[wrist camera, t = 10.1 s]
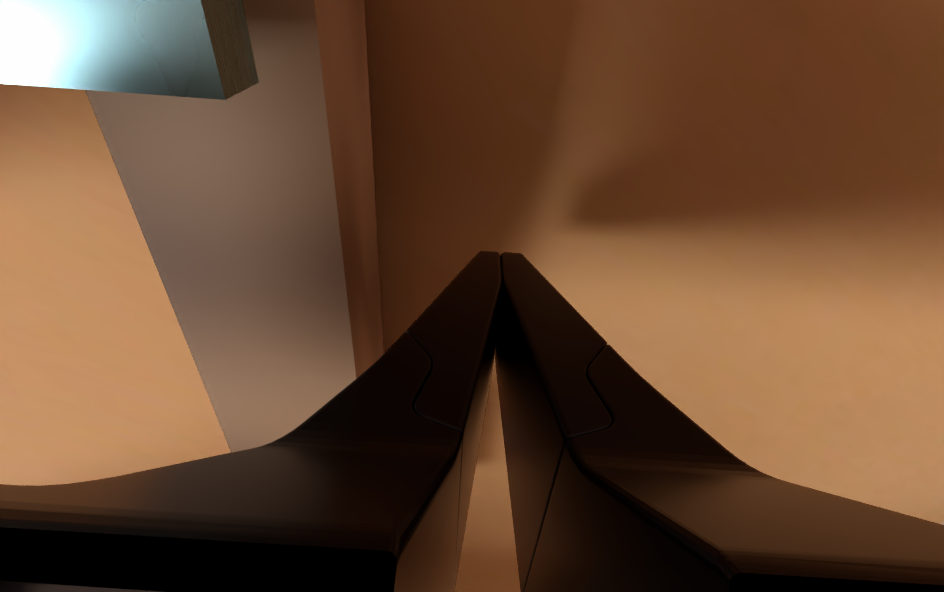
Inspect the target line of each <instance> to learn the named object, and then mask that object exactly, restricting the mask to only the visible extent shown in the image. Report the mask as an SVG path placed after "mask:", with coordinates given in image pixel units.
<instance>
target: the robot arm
mask: <svg viewBox="0 0 944 592" xmlns="http://www.w3.org/2000/svg"><path fill="white" fill-rule="evenodd" d="M494 354H495V363H496V373H497V382H498V391H499V400H500V409H501V418H502V427H503V436H504V445H505V454H506V463H507V472H508V481H509V490H510V499H511V508H512V517H513V526H514V535H515V544H516V553H517V562H518V571H519V580H520V589H521V592H944V525H941V524H938V523H934V522H930V521H927V520H923V519H919V518H916V517H912V516H909V515H905V514H901V513H898V512H894V511H891V510H887V509H883V508H880V507H876V506H873V505H869V504H865V503H862V502H858V501H854V500H851V499H847V498H844V497H840V496H836V495H833V494H829V493H826V492H822V491H818V490H815V489H811V488H808V487H804V486H800V485H797V484H793V483H789V482H786V481H783V480H780V479H776V478H774V477H772V476H769V475H767V474H764V473H762V472H760V471H758V470H756V469H755V468H753V467H751V466H749V465H748V464H746V463H744V462H743V461H741V460H740V459H738V458H737V457H736V456H734V455H733V454H732V453H731V452H729V451H728V450H727V449H725V448H724V447H723V446H722V445H721V444H720V443H718V442H717V441H716V440H715V439H714V438H712V437H711V436H710V435H709V434H708V433H707V432H705V431H704V430H703V429H702V428H701V427H699V426H698V425H697V424H696V423H695V422H694V421H692V420H691V419H690V418H689V417H688V416H686V415H685V414H684V413H683V412H682V411H680V410H679V409H678V408H677V407H676V406H675V405H673V404H672V403H671V402H670V401H669V400H667V399H666V398H665V397H664V396H663V395H662V394H661V393H659V392H658V391H657V390H656V389H655V388H654V387H653V386H651V385H650V384H649V383H648V382H647V381H646V380H645V379H644V378H642V377H641V376H640V375H639V374H638V373H637V372H636V371H635V370H634V369H633V368H632V367H631V366H630V365H629V364H628V363H627V362H626V361H625V360H624V359H623V358H622V357H621V356H620V355H619V354H618V353H617V352H616V351H615V350H614V349H613V348H612V347H611V346H610V345H607V342H606V341H605V340H604V339H603V338H602V337H601V336H600V335H599V334H598V332H597V331H596V330H595V329H594V328H593V327H592V326H591V325H590V324H589V323H588V322H587V321H586V320H585V319H584V318H583V317H582V316H581V315H580V314H579V313H578V312H577V311H576V310H575V309H574V308H573V307H572V305H571V304H570V303H569V302H568V301H567V300H566V299H565V298H564V297H563V296H562V295H561V294H560V293H559V292H558V291H557V290H556V289H555V288H554V287H553V286H552V285H551V284H550V283H549V282H548V281H547V280H546V278H545V277H544V276H543V275H542V274H541V273H540V272H539V271H538V270H537V269H536V268H535V267H534V266H533V265H532V264H531V263H530V262H529V261H528V260H527V259H526V258H525V257H524V256H523V255H522V254H520V253H509V252H504V253H502V254H501V256H500V253H499V252H492V251H480V252H479V253H478V254H477V255H476V256H475V257H474V258H473V259H472V260H471V261H470V262H469V263H468V264H467V266H466V267H465V268H464V269H463V270H462V271H461V272H460V273H459V274H458V275H457V276H456V277H455V279H454V280H453V281H452V282H451V283H450V284H449V285H448V286H447V287H446V288H445V289H444V290H443V292H442V293H441V294H440V295H439V296H438V297H437V298H436V299H435V300H434V301H433V302H432V303H431V305H430V306H429V307H428V308H427V309H426V310H425V311H424V312H423V313H422V314H421V315H420V316H419V317H418V319H417V320H416V321H415V322H414V323H413V324H412V325H411V326H410V327H409V328H408V329H407V331H406V332H405V333H403V334H402V336H401V337H400V338H399V339H398V340H397V341H396V342H395V343H394V344H393V345H392V346H391V347H390V348H389V349H388V350H387V351H386V352H385V353H384V354H383V355H382V356H381V357H380V358H379V359H378V360H377V361H376V362H375V363H374V364H373V365H371V366H370V367H369V368H368V369H367V370H366V371H365V372H363V373H362V374H361V375H360V376H359V377H358V378H356V379H355V380H354V381H353V382H352V383H350V384H349V385H348V386H347V387H346V388H344V389H343V390H342V391H341V392H339V393H338V394H337V395H336V396H335V397H333V398H332V399H331V400H330V401H329V402H327V403H326V404H325V405H324V406H323V407H321V408H320V409H319V410H318V411H316V412H315V413H314V414H313V415H312V416H310V417H309V418H308V419H307V420H306V421H304V422H303V423H302V424H300V425H299V426H298V427H296V428H295V429H294V430H292V431H291V432H289V433H288V434H286V435H284V436H283V437H281V438H279V439H277V440H275V441H273V442H271V443H268V444H265V445H263V446H259V447H256V448H251V449H246V450H242V451H237V452H232V453H227V454H223V455H218V456H213V457H208V458H203V459H199V460H194V461H189V462H184V463H179V464H175V465H170V466H165V467H160V468H155V469H151V470H146V471H141V472H136V473H132V474H127V475H122V476H117V477H111V478H105V479H99V480H93V481H86V482H79V483H71V484H61V485H45V486H20V485H4V484H0V592H454V590H455V584H456V578H457V572H458V566H459V561H460V555H461V549H462V543H463V538H464V532H465V526H466V520H467V514H468V509H469V503H470V497H471V491H472V485H473V480H474V474H475V468H476V462H477V456H478V451H479V445H480V439H481V433H482V427H483V422H484V416H485V410H486V404H487V398H488V393H489V387H490V381H491V375H492V369H493V362H494Z"/></svg>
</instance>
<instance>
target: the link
mask: <svg viewBox="0 0 944 592" xmlns="http://www.w3.org/2000/svg"><path fill="white" fill-rule="evenodd" d="M242 1H243V6H244V10H245V15H246V20H247V25H248V30H249V35H250V40H251V45H252V50H253V55H254V60H255V65H256V70H257V75H258V80H259V83H257V84H255V85H253V86H251V87H249V88H247V89H246V90H244V91H242V92H240V93H238V94H236V95H234V96H232V97H230V98H228V99H226V100H219V99H206V98H192V97H178V96H164V95H151V94H137V93H123V92H110V91H96V90H85V91H86V94H87V96H88V99H89V101H90V104H91V106H92V108H93V111H94V113H95V116H96V118H97V121H98V123H99V126H100V128H101V131H102V133H103V136H104V138H105V141H106V143H107V146H108V148H109V151H110V153H111V156H112V158H113V161H114V163H115V166H116V168H117V170H118V173H119V175H120V178H121V180H122V183H123V185H124V188H125V190H126V193H127V195H128V198H129V200H130V203H131V205H132V208H133V210H134V213H135V215H136V218H137V220H138V223H139V225H140V227H141V230H142V232H143V235H144V237H145V240H146V242H147V245H148V247H149V250H150V252H151V255H152V257H153V260H154V262H155V265H156V267H157V270H158V272H159V275H160V277H161V280H162V282H163V284H164V287H165V289H166V292H167V294H168V297H169V299H170V302H171V304H172V307H173V309H174V312H175V314H176V317H177V319H178V322H179V324H180V327H181V329H182V332H183V334H184V337H185V339H186V341H187V344H188V346H189V349H190V351H191V354H192V356H193V359H194V361H195V364H196V366H197V369H198V371H199V374H200V376H201V379H202V381H203V384H204V386H205V389H206V391H207V394H208V396H209V398H210V401H211V403H212V406H213V408H214V411H215V413H216V416H217V418H218V421H219V423H220V426H221V428H222V431H223V433H224V436H225V438H226V441H227V443H228V446H229V448H230V451H231V453H232V452H237V451H242V450H246V449H251V448H256V447H259V446H263V445H265V444H268V443H271V442H273V441H275V440H277V439H279V438H281V437H283V436H284V435H286V434H288V433H289V432H291V431H292V430H294V429H295V428H296V427H298V426H299V425H300V424H302V423H303V422H304V421H306V420H307V419H308V418H309V417H310V416H312V415H313V414H314V413H315V412H316V411H318V410H319V409H320V408H321V407H323V406H324V405H325V404H326V403H327V402H329V401H330V400H331V399H332V398H333V397H335V396H336V395H337V394H338V393H339V392H341V391H342V390H343V389H344V388H346V387H347V386H348V385H349V384H350V383H352V382H353V381H354V380H355V379H356V378H358V377H359V376H360V375H361V374H362V373H363V372H365V371H366V370H367V369H368V368H369V367H370V366H371V365H373V364H374V363H375V362H376V361H377V360H378V359H379V358H380V357H381V356H382V355H383V354H384V345H383V327H382V309H381V291H380V274H379V256H378V238H377V220H376V203H375V185H374V167H373V149H372V131H371V114H370V96H369V78H368V60H367V43H366V25H365V7H364V0H242Z"/></svg>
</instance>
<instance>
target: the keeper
mask: <svg viewBox="0 0 944 592" xmlns="http://www.w3.org/2000/svg"><path fill="white" fill-rule="evenodd" d="M257 83H259V80H258V75H257V70H256V65H255V60H254V55H253V50H252V45H251V40H250V35H249V30H248V25H247V20H246V15H245V10H244V6H243V1H242V0H0V84H14V85H27V86H41V87H55V88H68V89H82V90H96V91H110V92H123V93H137V94H151V95H164V96H178V97H192V98H206V99H219V100H226V99H228V98H230V97H232V96H234V95H236V94H238V93H240V92H242V91H244V90H246V89H247V88H249V87H251V86H253V85H255V84H257Z"/></svg>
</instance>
